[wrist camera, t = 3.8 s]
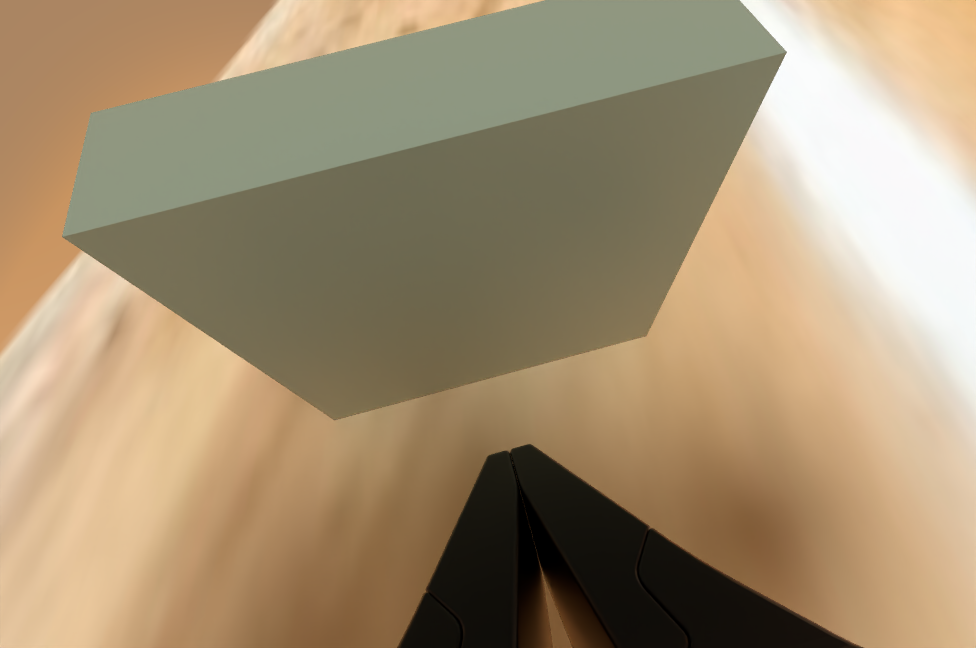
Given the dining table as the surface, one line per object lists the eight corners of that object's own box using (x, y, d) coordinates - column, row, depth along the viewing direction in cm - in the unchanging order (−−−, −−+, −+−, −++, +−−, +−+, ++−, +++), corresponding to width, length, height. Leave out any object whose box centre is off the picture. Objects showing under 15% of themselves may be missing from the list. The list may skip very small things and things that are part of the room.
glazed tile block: (646, 336, 17) (786, 52, 8) (334, 420, 17) (62, 236, 7) (614, 266, 19) (697, -46, 9) (327, 343, 19) (92, 104, 9)
